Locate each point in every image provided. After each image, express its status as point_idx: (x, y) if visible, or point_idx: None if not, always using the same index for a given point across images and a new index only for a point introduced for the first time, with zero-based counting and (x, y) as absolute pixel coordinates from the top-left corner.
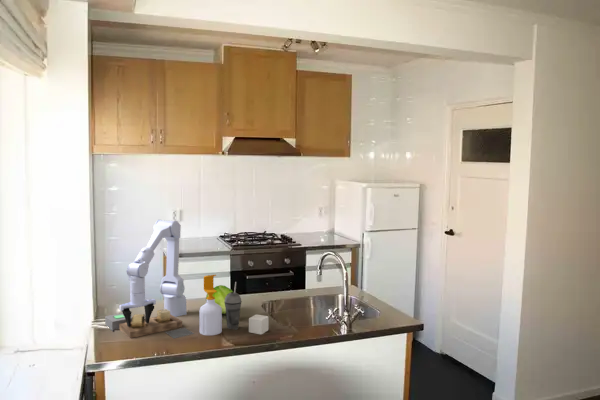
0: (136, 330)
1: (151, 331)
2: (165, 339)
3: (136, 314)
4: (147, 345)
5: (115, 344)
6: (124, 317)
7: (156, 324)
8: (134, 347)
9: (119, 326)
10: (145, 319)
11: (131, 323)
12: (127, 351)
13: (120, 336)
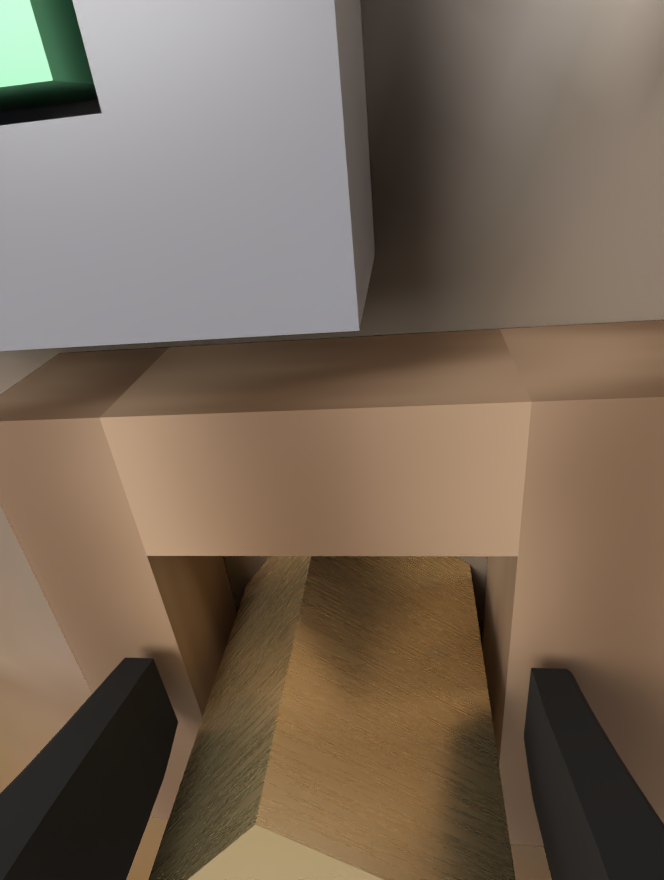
0: None
1: None
2: (540, 865)
3: (304, 851)
4: None
5: (25, 733)
6: (43, 81)
7: (649, 794)
8: None
9: (1, 396)
10: (544, 723)
11: (239, 531)
12: (133, 869)
13: None
